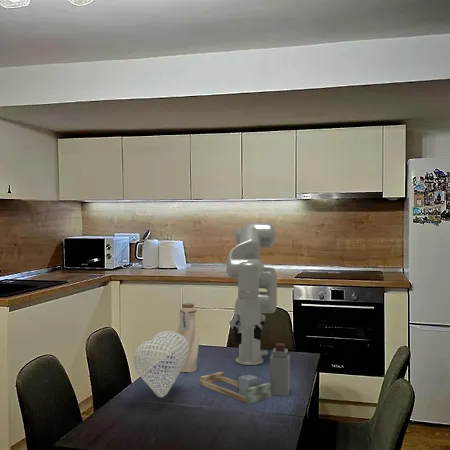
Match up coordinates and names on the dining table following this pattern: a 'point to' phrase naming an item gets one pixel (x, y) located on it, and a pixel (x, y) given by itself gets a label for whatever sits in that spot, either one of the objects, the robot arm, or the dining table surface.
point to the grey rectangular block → (247, 383)
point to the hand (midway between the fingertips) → (247, 341)
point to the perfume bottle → (280, 370)
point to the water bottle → (189, 336)
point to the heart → (177, 369)
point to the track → (251, 393)
